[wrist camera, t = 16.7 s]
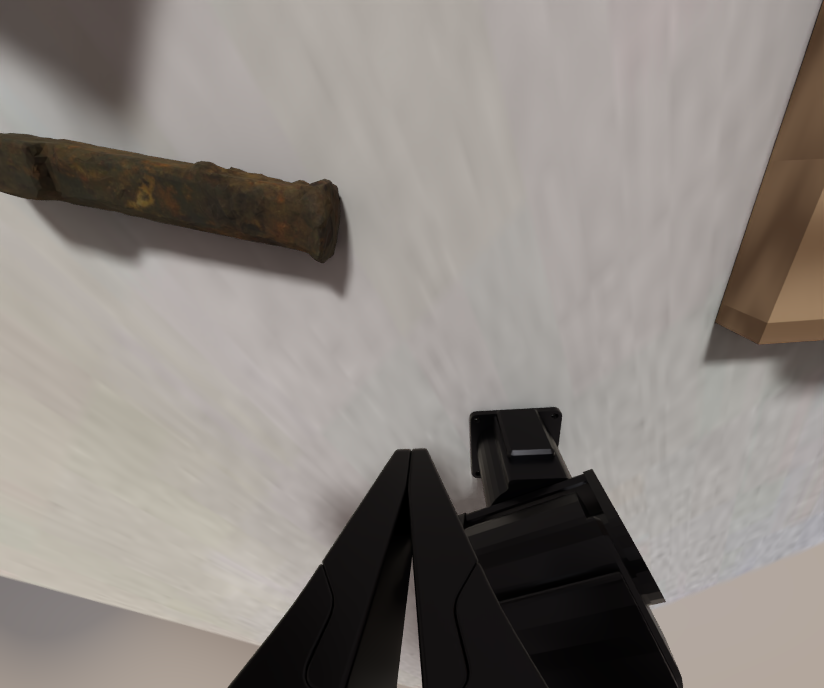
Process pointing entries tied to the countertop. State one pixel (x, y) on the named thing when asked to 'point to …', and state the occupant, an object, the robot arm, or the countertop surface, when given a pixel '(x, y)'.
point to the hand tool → (174, 192)
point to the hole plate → (786, 225)
